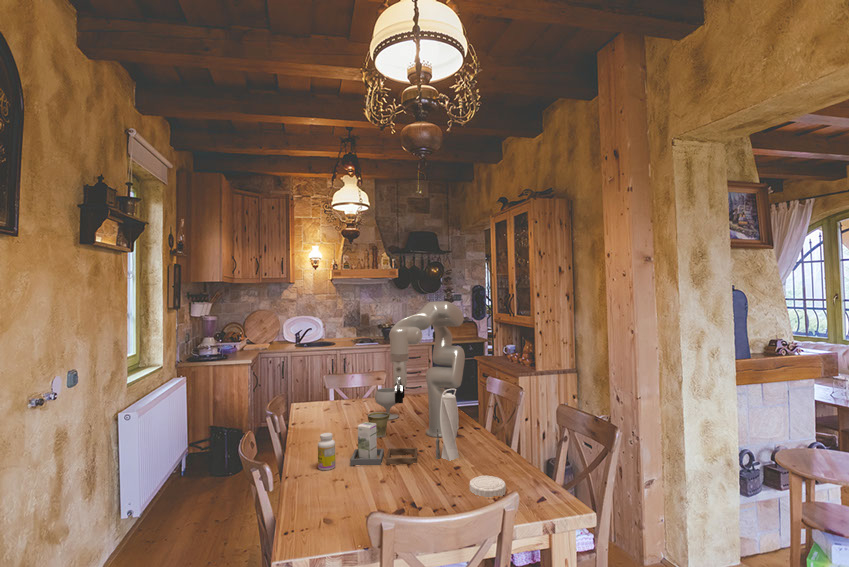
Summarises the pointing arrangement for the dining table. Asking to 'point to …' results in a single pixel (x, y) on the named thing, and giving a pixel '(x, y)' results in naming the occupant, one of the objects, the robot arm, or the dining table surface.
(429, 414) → the robot arm
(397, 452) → the walnut frame
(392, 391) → the chalice
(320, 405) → the dining table surface
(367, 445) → the syrup box
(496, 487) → the mooncake
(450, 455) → the skyscraper
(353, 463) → the grey frame
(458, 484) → the dining table surface
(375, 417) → the ceramic cup
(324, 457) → the supplement bottle
